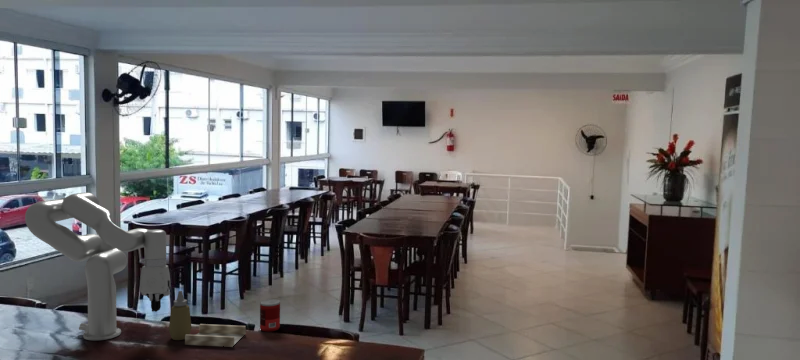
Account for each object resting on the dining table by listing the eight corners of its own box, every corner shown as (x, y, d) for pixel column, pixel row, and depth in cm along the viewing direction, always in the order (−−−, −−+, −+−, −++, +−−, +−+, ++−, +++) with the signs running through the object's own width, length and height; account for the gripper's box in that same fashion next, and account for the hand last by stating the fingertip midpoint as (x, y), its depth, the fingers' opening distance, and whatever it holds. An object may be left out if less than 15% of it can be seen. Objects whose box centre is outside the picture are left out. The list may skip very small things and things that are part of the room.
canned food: (283, 327, 223) (283, 300, 222) (272, 333, 215) (273, 305, 215) (267, 324, 225) (267, 298, 225) (256, 330, 218) (256, 303, 217)
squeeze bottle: (183, 342, 202) (183, 294, 201) (164, 340, 204) (164, 293, 203) (195, 335, 210) (196, 289, 209) (177, 333, 212) (177, 287, 211)
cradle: (185, 344, 200) (185, 335, 200) (200, 332, 213) (200, 323, 213) (233, 346, 199) (233, 337, 199) (245, 334, 212) (245, 325, 212)
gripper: (130, 264, 203) (131, 312, 204) (169, 265, 202) (170, 314, 203) (141, 260, 210) (142, 307, 211) (179, 261, 210) (179, 308, 210)
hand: (155, 310), depth 207 cm, fingers closed
